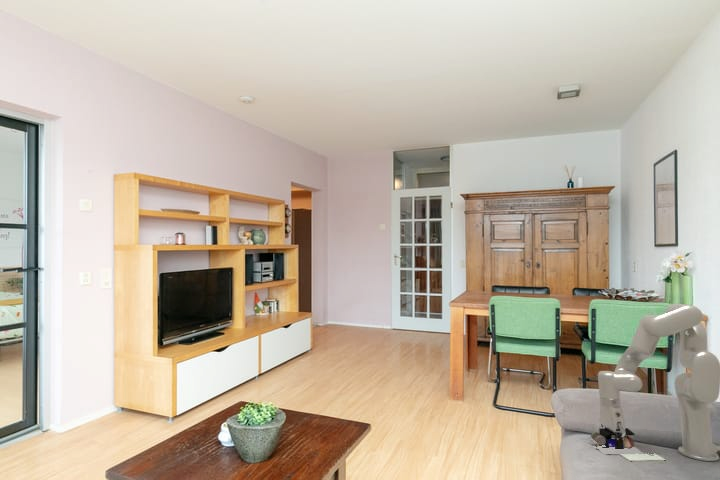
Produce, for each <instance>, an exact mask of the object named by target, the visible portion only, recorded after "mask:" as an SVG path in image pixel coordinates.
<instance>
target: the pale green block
mask: <svg viewBox="0 0 720 480" xmlns="http://www.w3.org/2000/svg"><path fill="white" fill-rule="evenodd" d="M645 453H646V452H645ZM647 453H648V452H647ZM647 453H646V454H638V453H636V454H620V455H622V456H623V457H625V458H626V459H628V460H629V461H643V462H646V461H645V460H666V459H665V458H664V457H663V456H660V455H658V454H657V453H655V452H653V453H654V454H653V455H654V456H650V455H648V454H649V453H650V452H649V453H648V454H647ZM620 455H619V456H620ZM651 455H652V454H651ZM622 456H621V457H622ZM623 457H622V458H623ZM625 458H624V459H625ZM626 459H625V460H626ZM628 460H627V461H628ZM629 461H628V462H629Z"/></svg>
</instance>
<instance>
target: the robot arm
mask: <svg viewBox="0 0 720 480" xmlns="http://www.w3.org/2000/svg"><path fill="white" fill-rule="evenodd" d="M702 321H703V312H702V311H701V309H700V308H698V307H697V306H695V305H691V304H683V303H672V304H669V305H667V307H666V308H665V313H663V314H659V315H657V314H646V315H643V316H642V317H641V319H640V320H639V323H638V325H637V327H636V330H635V333H634V334H633V337H632V340H631V342H630V344H629V347H627V348H626V350H625V351H624V352H623V354H622V355H621V356H620V358H619V360H618V362H617V364H616V365H615V366H616V367H615V368H614V369H615V370H614V371H610V370H600V371H598V373H597V379H598V380H597V381H598V394H599V395H598V396H599V405H600V407H599V408H600V409H599V414H600V415H599V417H600V418H599V423H600V427H601V429H606V428H607V429H609V430H611V431H613V432H614V435H613V436H614V438H612V437H613V436H607V439H614V440H615V449H624V446H623V440H624V436H626V435H625V434H626V432H625V428H626V423H625V417H624V412H623V409H622V405H621V403H622V402H621V392H620V391H623V392H627V393H636V392H639V391H641V390H642V388H643V382H642V379H641V378H640V377H639V376H638V375H636V372H637V369H638V368H639V366H640V365H641V363H643V362H644V361H645V360H648V359H649V358H651V357H653V356H654V354H655V351H656V349H657V346H658V343H659V342H660V339H661V338H665V337H669V336H673V335H675V334H679V335H680V343H679V354H678V355H679V357H678V358H679V363H680V365H681V366H682V367H684V368H685V369H687V370H689V371H690V372H683V373H680V374H678V375H677V376H676V377H675V380H674V391H675V394H676V397H677V402H678V411H679V422H680V424H679V425H680V432H681V442H682V443H681V444H682V446H679V447H678V450H677V451H678V453H680V455H682V456H684V457H687V458H690V459H694V460H697V461H703V462H704V461H705V462H715V461H719V460H720V455H719V454H718V452H720V445H717V444H715V443H713V436H712V435H713V434H712V425H711V418H710V416H711V415H710V408H709V405H710V404H711V405H712V404H713V403H715V402H716V401H717V400H718V398H719V396H720V361H719V359H718V358H717V355H715V354H714V353H712V352H711V351H708V336H707V331H706V328H705V326H704V324H703V322H702ZM616 430H619V431H616ZM617 433H619V435H617ZM615 438H616V439H615Z"/></svg>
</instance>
